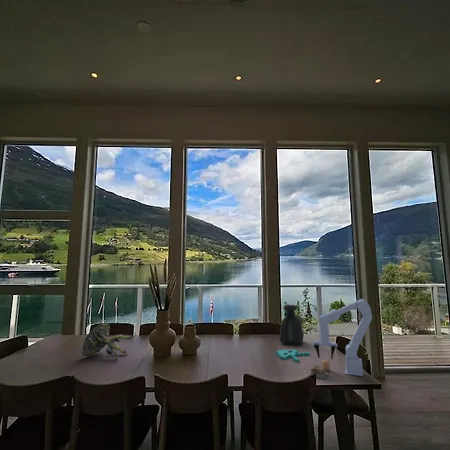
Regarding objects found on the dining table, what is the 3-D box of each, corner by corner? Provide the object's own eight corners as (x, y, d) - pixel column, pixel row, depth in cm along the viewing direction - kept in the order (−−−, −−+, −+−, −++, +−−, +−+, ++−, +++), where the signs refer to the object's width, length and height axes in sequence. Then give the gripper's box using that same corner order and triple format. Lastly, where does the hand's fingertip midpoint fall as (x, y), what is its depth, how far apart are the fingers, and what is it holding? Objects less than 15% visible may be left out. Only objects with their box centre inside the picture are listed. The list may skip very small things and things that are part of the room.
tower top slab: (324, 370, 173) (323, 366, 173) (322, 374, 167) (322, 369, 167) (312, 369, 175) (312, 364, 176) (311, 372, 169) (311, 368, 170)
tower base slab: (325, 374, 173) (325, 370, 173) (324, 379, 166) (324, 375, 166) (311, 372, 176) (311, 368, 176) (310, 377, 169) (310, 373, 169)
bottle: (279, 344, 238) (277, 306, 242) (283, 339, 253) (282, 304, 257) (301, 346, 231) (299, 307, 235) (304, 341, 246) (302, 305, 250)
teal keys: (309, 355, 208) (284, 350, 221) (309, 352, 209) (284, 347, 221) (297, 363, 193) (271, 357, 206) (297, 359, 193) (271, 354, 206)
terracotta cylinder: (330, 369, 181) (329, 360, 181) (329, 371, 177) (329, 362, 177) (322, 368, 182) (322, 359, 183) (322, 370, 178) (321, 362, 179)
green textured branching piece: (73, 350, 194) (124, 347, 192) (87, 318, 215) (134, 315, 214) (85, 369, 207) (134, 366, 205) (97, 337, 228) (141, 334, 227)
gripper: (336, 334, 183) (338, 357, 181) (312, 332, 189) (313, 354, 187) (336, 337, 177) (337, 361, 175) (311, 335, 182) (312, 358, 180)
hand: (325, 358), depth 180 cm, fingers open, 7 cm apart
